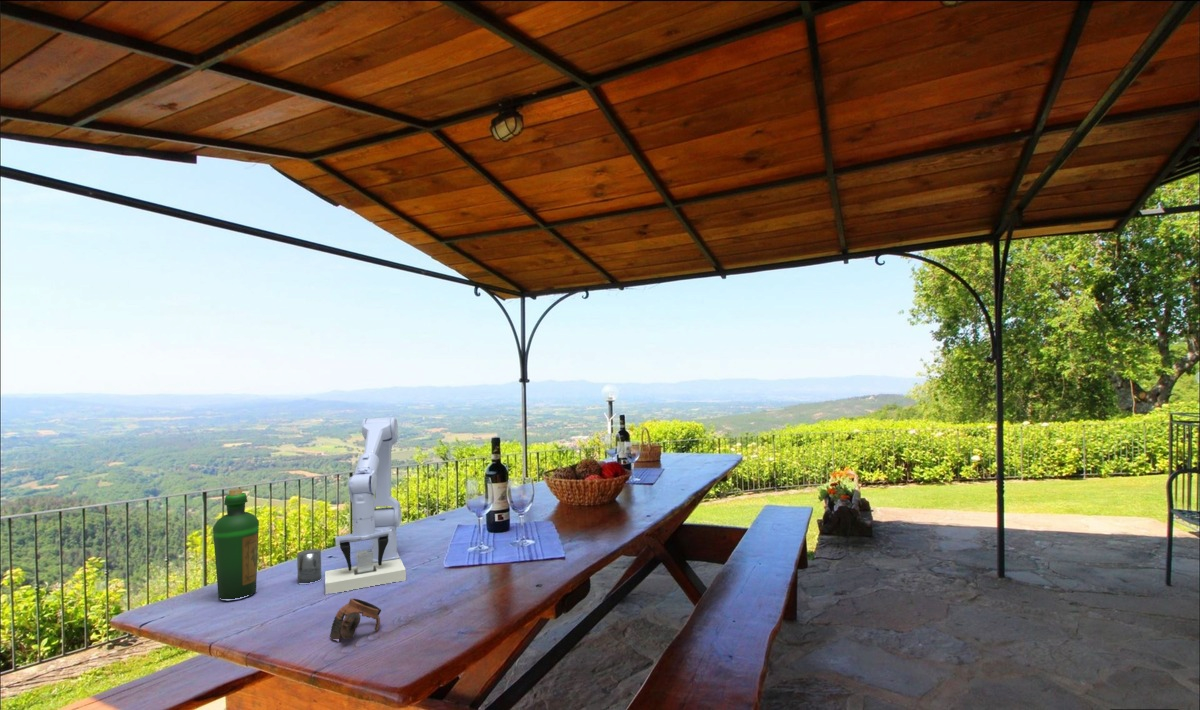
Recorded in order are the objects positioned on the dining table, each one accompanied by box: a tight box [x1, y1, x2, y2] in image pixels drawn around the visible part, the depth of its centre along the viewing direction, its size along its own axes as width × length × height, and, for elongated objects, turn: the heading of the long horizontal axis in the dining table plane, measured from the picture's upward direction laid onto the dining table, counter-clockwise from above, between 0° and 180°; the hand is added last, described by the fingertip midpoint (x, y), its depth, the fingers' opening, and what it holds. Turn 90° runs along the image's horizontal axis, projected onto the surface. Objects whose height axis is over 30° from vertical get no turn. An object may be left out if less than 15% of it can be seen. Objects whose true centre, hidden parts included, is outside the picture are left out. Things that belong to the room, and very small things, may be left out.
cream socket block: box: [324, 558, 407, 595], centre depth 161 cm, size 12×20×3 cm, turn 115°
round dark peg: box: [296, 548, 322, 584], centre depth 164 cm, size 6×6×8 cm
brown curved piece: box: [329, 598, 382, 641], centre depth 125 cm, size 12×9×8 cm
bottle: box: [212, 487, 260, 599], centre depth 154 cm, size 11×11×28 cm
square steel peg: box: [356, 548, 373, 575], centre depth 161 cm, size 4×4×8 cm
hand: (365, 567), depth 161 cm, fingers open, 7 cm apart
